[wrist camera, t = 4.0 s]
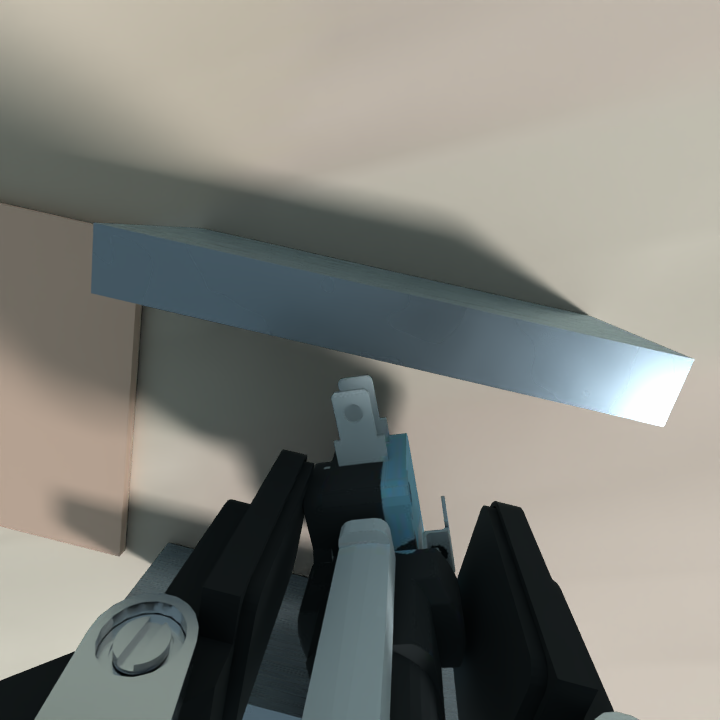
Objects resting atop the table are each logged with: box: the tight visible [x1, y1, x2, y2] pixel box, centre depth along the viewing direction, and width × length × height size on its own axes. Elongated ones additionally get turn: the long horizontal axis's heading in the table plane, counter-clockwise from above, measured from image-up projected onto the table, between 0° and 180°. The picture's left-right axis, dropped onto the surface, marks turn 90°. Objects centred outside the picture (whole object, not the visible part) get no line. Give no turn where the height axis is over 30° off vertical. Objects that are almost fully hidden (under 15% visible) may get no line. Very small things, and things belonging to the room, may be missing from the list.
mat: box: [0, 203, 142, 556], centre depth 13 cm, size 7×10×1 cm, turn 168°
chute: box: [91, 223, 694, 720], centre depth 11 cm, size 10×11×4 cm
